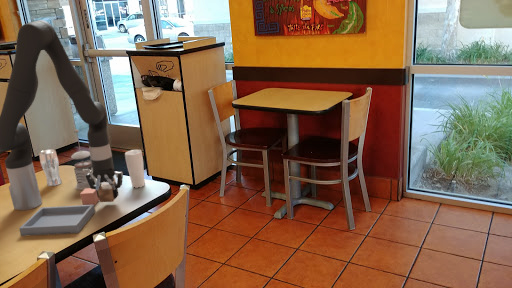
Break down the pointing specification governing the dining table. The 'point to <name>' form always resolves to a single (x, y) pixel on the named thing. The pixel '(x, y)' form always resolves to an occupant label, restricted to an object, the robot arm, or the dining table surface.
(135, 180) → the drinking glass
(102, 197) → the walnut block
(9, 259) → the dining table surface
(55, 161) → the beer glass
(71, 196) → the dining table surface
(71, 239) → the dining table surface
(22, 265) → the dining table surface
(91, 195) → the brick block
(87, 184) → the french press
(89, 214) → the slate tray
